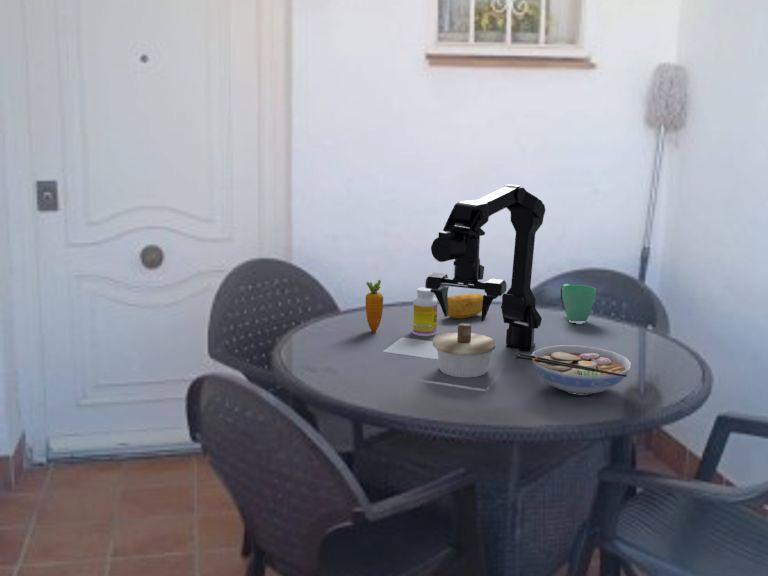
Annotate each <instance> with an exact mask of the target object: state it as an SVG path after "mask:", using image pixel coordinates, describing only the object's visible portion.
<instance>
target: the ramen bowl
mask: <svg viewBox="0 0 768 576" xmlns="http://www.w3.org/2000/svg"><path fill="white" fill-rule="evenodd" d="M515 358H516V359H519V360H523V361H524V360H525V361H530V362H532V364H533V366H534V367H535V369H536V371H537V372H538V373H539V375H540V376H541V378H542V379H543V380H544V381H545V382H546V383H547V384H549V385H551V386H552V387H554V388H557V389H558V390H561V391H563V390H564V392H565V391H567V392H570V393H576V394H590V395H592V394H591V393H593V394H597V393H601V392H605V391H607V390H609V389H611V388H614V387H616V386H617V385H619V384H620V383H621V382H622V381H623V380H624V378H627V377H628V373H629V372H630V370H631V367H632V362H631V361H630V360H629V359H628V358H627V357H626V356H624V355H622V354H619V353H617V352H615V351H611V350H608V349H603V348H600V347H595V346H586V345H585V346H584V345H578V344H577V345H564V344H563V345H559V344H558V345H552V346H545V347H541V348H539V349H537V350H534V351H533V352H532V354H527V353H521V352H520V353H519V354H517V355H516V357H515ZM567 392H566V393H567ZM570 393H569V394H570Z"/></svg>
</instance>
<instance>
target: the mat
mask: <svg viewBox="0 0 768 576" xmlns="http://www.w3.org/2000/svg"><path fill="white" fill-rule="evenodd" d="M382 352H383V353H389V354H395V355H402V356H409V357H416V358H423V359H431V360H438V351H437V349H436V348H435V347H434V346H433V340H426V339H425V340H424V339H416V338H410V337H404V336H403V337H400V338H399V339H398V340H396V341H395V342H394V343H392V344H391V345H390V346H388V347H387V348H385V349H384V350H383V351H382Z"/></svg>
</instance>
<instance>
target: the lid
mask: <svg viewBox="0 0 768 576" xmlns="http://www.w3.org/2000/svg"><path fill="white" fill-rule="evenodd" d="M432 342H433V346H434V347H435V348H436V349H438V350H440V351H443V352H447V353H452V354H459V355H477V354H484V353H488V352H491V351H492V352H493V351H494V350H495V349H496V341H495V339H493V338H491V337H489V336H487V335H485V334H484V335H483V334H480V333H479V334H478V333H474V332H472V325H471V324H470V323H465V322H464V323H459V324H458V325H457V332H447V333H443V334H442V333H441V334H439V335H435V336H434V337H433V338H432ZM492 352H491V353H492Z"/></svg>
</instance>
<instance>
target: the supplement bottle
mask: <svg viewBox="0 0 768 576" xmlns="http://www.w3.org/2000/svg"><path fill="white" fill-rule="evenodd" d="M416 294H417V296H416V297H415V298H414V299H413V300H412V301H413V302H412V303H413V304H412V305H413V306H412V325H411V326H412V328H411V329H412V331H411V332H412V334H413V335H414V336H419V337H433V336H436V334H437V328H438V327H437V326H438V323H437V322H438V320H437V319H438V299H437V298H435V296H434V295H435V294H434V293H433V292H431V289H428V288H425V286H422V287H418V288H416Z"/></svg>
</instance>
